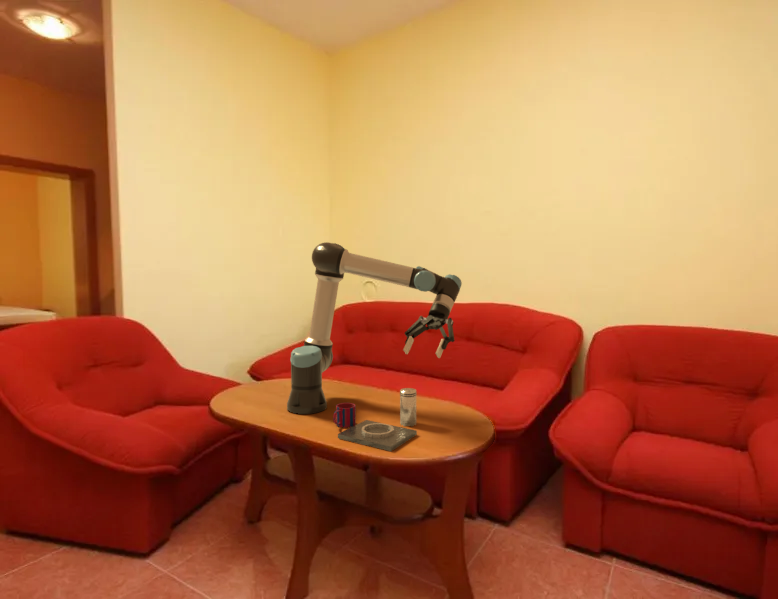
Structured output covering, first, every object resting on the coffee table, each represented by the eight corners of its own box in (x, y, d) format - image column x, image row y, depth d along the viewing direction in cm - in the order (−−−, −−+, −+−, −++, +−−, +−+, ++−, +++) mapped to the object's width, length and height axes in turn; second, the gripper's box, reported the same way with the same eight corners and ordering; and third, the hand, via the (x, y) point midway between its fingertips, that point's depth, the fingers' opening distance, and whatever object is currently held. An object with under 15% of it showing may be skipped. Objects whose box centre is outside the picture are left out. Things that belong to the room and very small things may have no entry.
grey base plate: (337, 438, 151) (337, 430, 150) (366, 424, 164) (366, 416, 164) (391, 451, 140) (391, 442, 140) (416, 435, 154) (416, 426, 153)
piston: (397, 422, 166) (397, 388, 165) (412, 420, 168) (412, 387, 167) (403, 427, 161) (403, 393, 160) (419, 425, 163) (419, 391, 162)
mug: (359, 424, 164) (359, 404, 164) (339, 432, 156) (339, 412, 156) (345, 420, 168) (345, 401, 168) (325, 427, 161) (325, 408, 160)
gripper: (473, 316, 176) (455, 363, 165) (417, 313, 190) (396, 356, 179) (467, 303, 171) (448, 351, 160) (409, 301, 185) (388, 344, 174)
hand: (421, 354), depth 169 cm, fingers open, 13 cm apart
